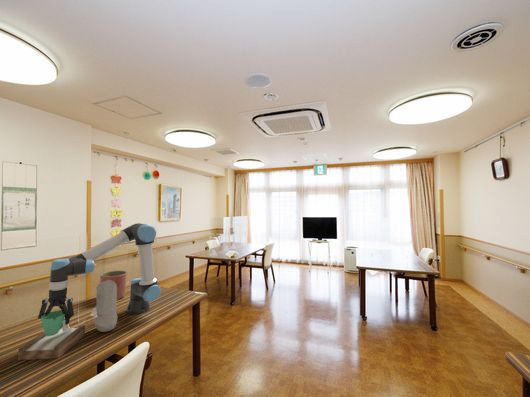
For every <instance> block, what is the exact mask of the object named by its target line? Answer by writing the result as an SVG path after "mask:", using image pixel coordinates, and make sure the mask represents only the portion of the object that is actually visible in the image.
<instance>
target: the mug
mask: <svg viewBox="0 0 530 397" xmlns="http://www.w3.org/2000/svg"><path fill="white" fill-rule="evenodd" d="M45 315H46V314H44V315H42V317H41V319H40V320H41V326H42V330H43V329H44V332H45V334H46V336H53V335H56V334H57V333H58V332H59V330H60V329H63V319H65V317H64V316H65V314H64V315H63V313H62V310H55V311H51V312H50V313H49V314H48V315H47V316H45Z"/></svg>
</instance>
